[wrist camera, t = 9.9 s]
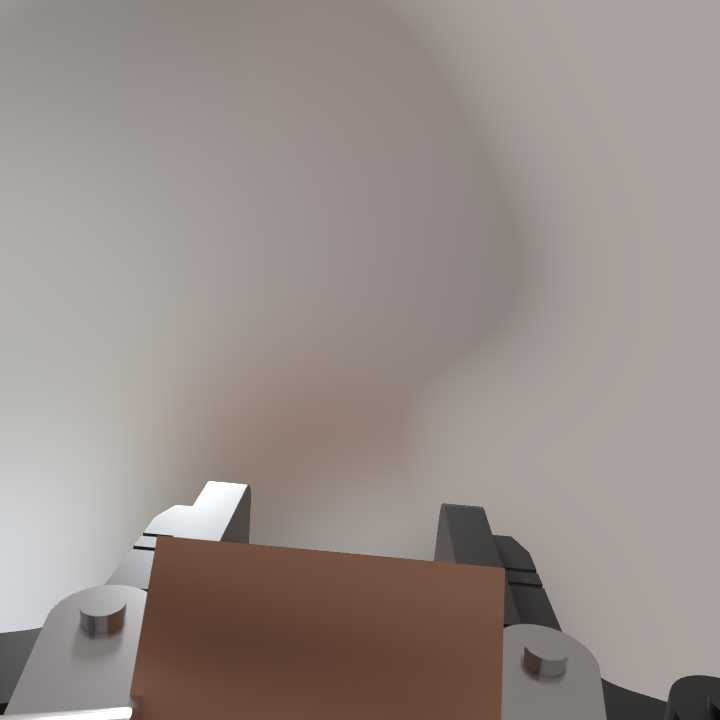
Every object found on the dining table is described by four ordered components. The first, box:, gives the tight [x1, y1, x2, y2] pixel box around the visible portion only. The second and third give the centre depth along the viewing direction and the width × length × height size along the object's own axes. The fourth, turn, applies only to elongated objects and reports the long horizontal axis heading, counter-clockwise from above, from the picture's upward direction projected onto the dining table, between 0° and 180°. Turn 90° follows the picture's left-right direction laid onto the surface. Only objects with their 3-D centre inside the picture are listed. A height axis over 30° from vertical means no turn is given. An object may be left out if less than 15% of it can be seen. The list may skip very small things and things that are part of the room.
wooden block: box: [130, 535, 505, 720], centre depth 18 cm, size 24×4×3 cm, turn 0°
